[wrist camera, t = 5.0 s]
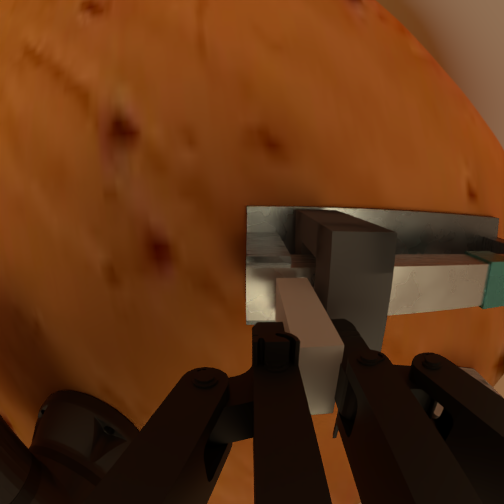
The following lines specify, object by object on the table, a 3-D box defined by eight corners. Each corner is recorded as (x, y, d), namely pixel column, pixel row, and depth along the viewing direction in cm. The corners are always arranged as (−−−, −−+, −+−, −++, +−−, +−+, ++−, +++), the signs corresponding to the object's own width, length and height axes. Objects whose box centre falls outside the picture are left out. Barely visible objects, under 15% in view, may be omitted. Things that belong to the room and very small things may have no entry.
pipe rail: (247, 299, 27) (246, 360, 17) (247, 205, 25) (245, 220, 15) (483, 288, 27) (540, 322, 17) (493, 217, 25) (558, 233, 16)
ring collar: (292, 313, 24) (317, 392, 14) (295, 209, 22) (332, 231, 12) (329, 312, 24) (372, 387, 14) (336, 210, 22) (397, 232, 12)
